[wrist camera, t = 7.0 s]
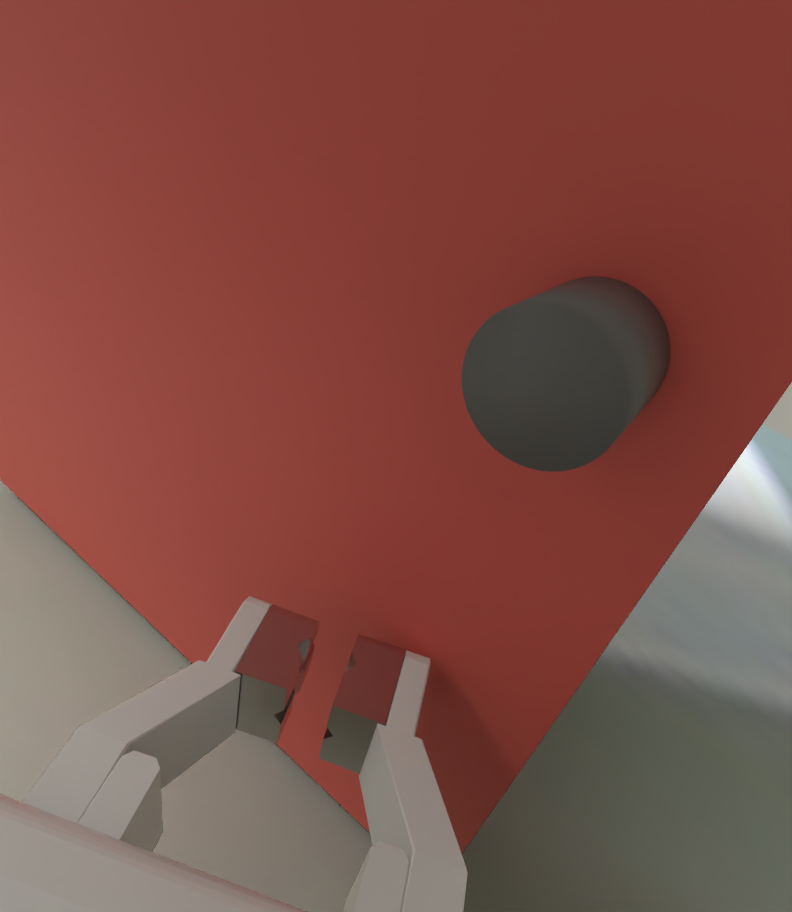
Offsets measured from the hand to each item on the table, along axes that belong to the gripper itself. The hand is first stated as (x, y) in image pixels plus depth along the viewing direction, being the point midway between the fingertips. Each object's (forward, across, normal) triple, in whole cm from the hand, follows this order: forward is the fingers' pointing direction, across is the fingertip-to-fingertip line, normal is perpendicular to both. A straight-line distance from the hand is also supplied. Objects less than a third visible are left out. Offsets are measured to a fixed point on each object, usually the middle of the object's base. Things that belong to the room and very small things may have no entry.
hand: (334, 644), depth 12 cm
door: (+3, +6, +7) cm, 10 cm away
